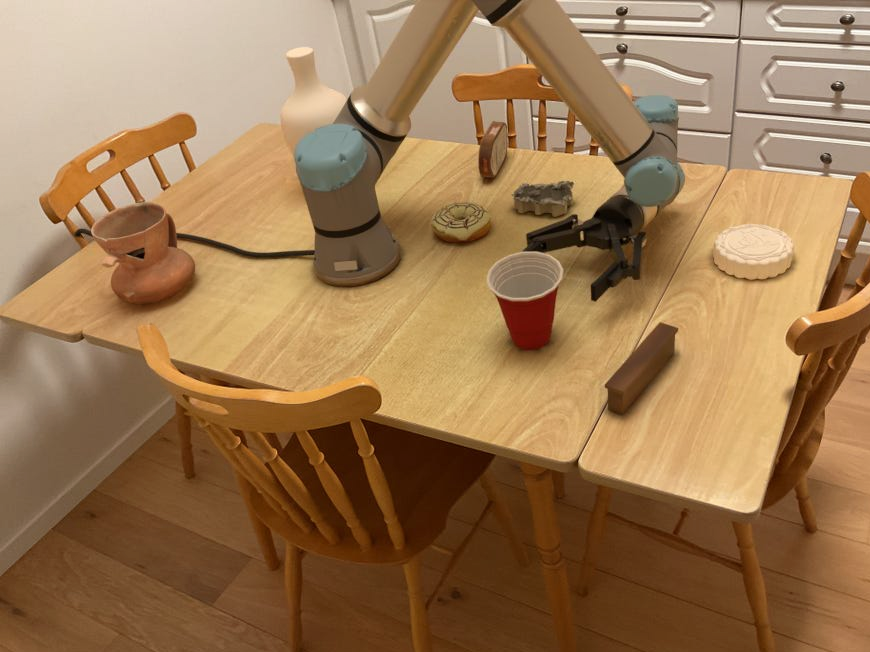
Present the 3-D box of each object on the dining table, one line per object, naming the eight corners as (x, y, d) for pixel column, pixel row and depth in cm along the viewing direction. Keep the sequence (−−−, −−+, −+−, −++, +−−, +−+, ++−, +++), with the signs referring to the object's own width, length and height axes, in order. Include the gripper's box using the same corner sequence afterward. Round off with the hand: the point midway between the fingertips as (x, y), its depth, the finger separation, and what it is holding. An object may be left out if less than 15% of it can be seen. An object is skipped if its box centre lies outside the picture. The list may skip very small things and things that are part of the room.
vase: (288, 190, 164) (246, 57, 146) (342, 164, 170) (309, 33, 152) (325, 210, 155) (286, 70, 137) (382, 181, 161) (352, 44, 144)
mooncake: (777, 235, 128) (780, 216, 126) (802, 275, 119) (806, 256, 117) (704, 244, 129) (706, 225, 127) (724, 284, 120) (726, 265, 118)
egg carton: (577, 200, 146) (576, 180, 143) (562, 220, 141) (561, 200, 138) (526, 193, 150) (524, 174, 147) (509, 212, 145) (507, 192, 143)
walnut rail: (605, 409, 102) (604, 384, 99) (659, 346, 110) (659, 321, 108) (623, 417, 101) (623, 391, 98) (677, 353, 109) (678, 327, 106)
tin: (497, 151, 166) (493, 114, 160) (511, 151, 165) (508, 113, 160) (479, 185, 155) (474, 145, 150) (494, 185, 154) (489, 146, 149)
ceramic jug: (166, 320, 131) (132, 248, 122) (97, 313, 135) (60, 243, 126) (222, 261, 144) (195, 193, 135) (157, 257, 148) (127, 190, 139)
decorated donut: (469, 251, 136) (466, 233, 134) (422, 238, 142) (418, 220, 139) (502, 223, 142) (499, 205, 140) (455, 211, 148) (452, 194, 145)
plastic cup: (484, 356, 113) (474, 289, 106) (509, 313, 121) (501, 247, 113) (554, 367, 110) (549, 299, 102) (576, 322, 117) (572, 255, 109)
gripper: (694, 253, 123) (628, 325, 111) (561, 218, 136) (489, 280, 124) (696, 211, 118) (628, 282, 106) (559, 180, 131) (484, 239, 119)
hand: (553, 281), depth 115 cm, fingers open, 13 cm apart
